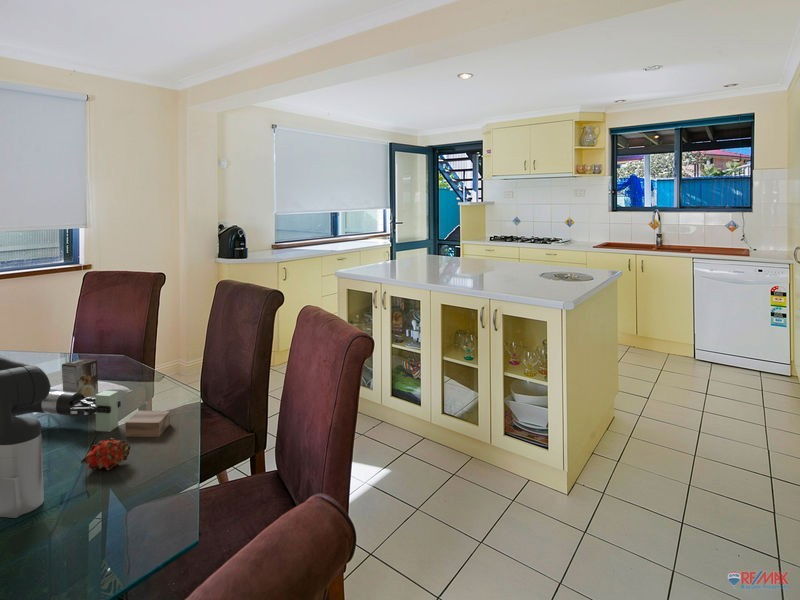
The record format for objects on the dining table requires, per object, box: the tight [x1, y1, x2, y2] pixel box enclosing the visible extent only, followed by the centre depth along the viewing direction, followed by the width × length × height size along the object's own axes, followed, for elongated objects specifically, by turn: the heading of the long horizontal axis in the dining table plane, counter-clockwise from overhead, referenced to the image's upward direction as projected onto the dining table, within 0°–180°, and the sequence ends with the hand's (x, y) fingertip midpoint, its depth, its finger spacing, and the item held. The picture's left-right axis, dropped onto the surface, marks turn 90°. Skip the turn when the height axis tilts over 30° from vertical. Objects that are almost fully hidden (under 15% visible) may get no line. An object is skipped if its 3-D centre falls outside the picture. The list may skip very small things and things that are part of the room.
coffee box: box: [61, 357, 99, 398], centre depth 172 cm, size 9×6×16 cm
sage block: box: [95, 390, 119, 433], centre depth 154 cm, size 4×4×12 cm
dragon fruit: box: [80, 437, 131, 471], centre depth 131 cm, size 8×8×12 cm
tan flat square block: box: [125, 410, 171, 438], centre depth 156 cm, size 10×10×5 cm
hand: (115, 406), depth 154 cm, fingers closed on sage block, 4 cm apart
